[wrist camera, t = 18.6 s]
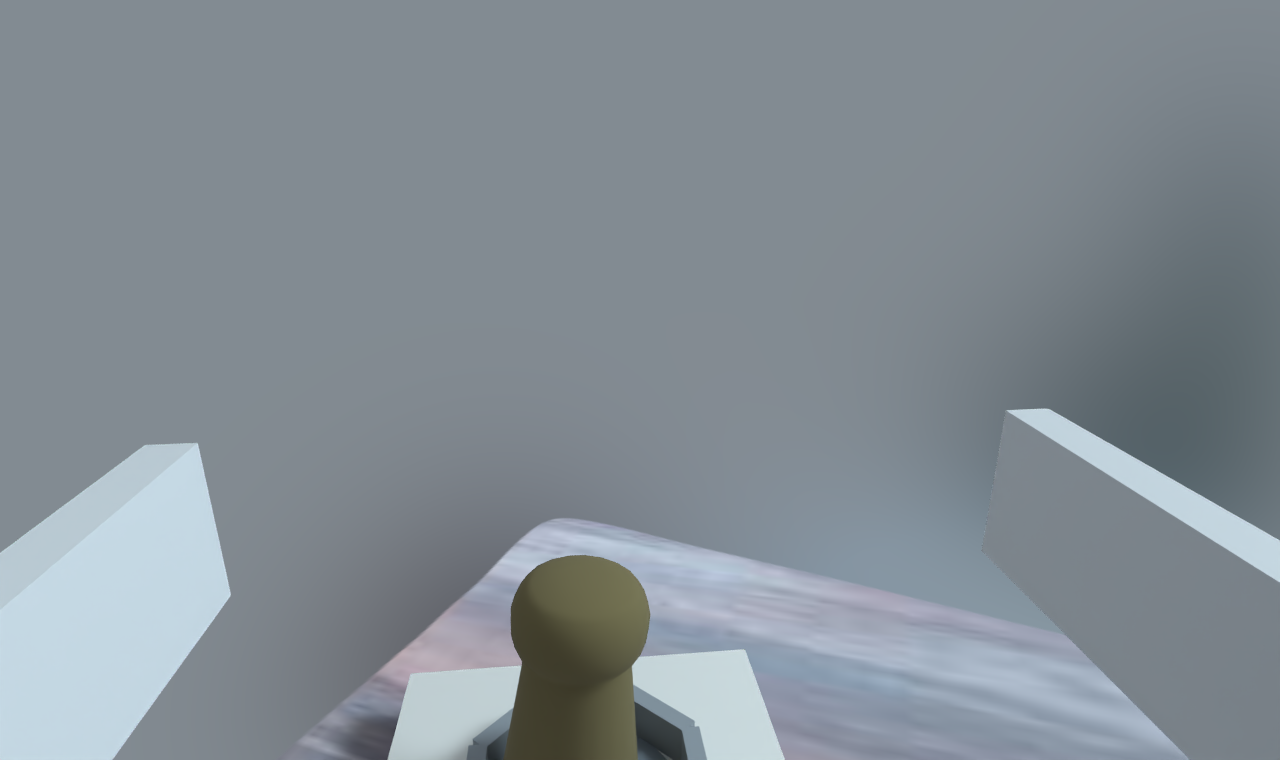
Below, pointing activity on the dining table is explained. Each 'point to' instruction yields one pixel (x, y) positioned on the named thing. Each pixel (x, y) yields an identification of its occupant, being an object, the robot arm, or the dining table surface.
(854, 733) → the dining table surface
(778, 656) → the dining table surface
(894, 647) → the dining table surface
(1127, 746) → the dining table surface
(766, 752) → the base plate
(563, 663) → the cork
